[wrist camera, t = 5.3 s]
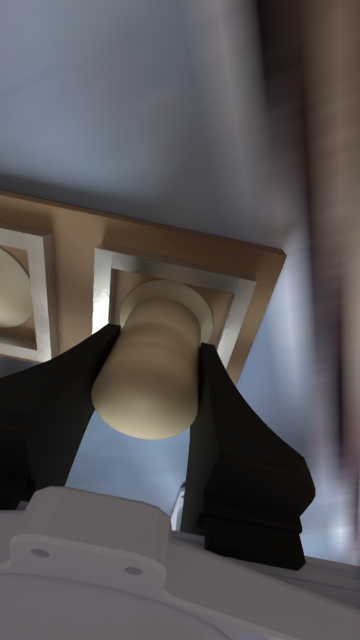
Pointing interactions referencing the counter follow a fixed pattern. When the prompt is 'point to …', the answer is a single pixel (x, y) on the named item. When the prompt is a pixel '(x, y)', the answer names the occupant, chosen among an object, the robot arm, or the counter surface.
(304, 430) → the counter surface
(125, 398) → the ash peg
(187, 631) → the robot arm
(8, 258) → the board
